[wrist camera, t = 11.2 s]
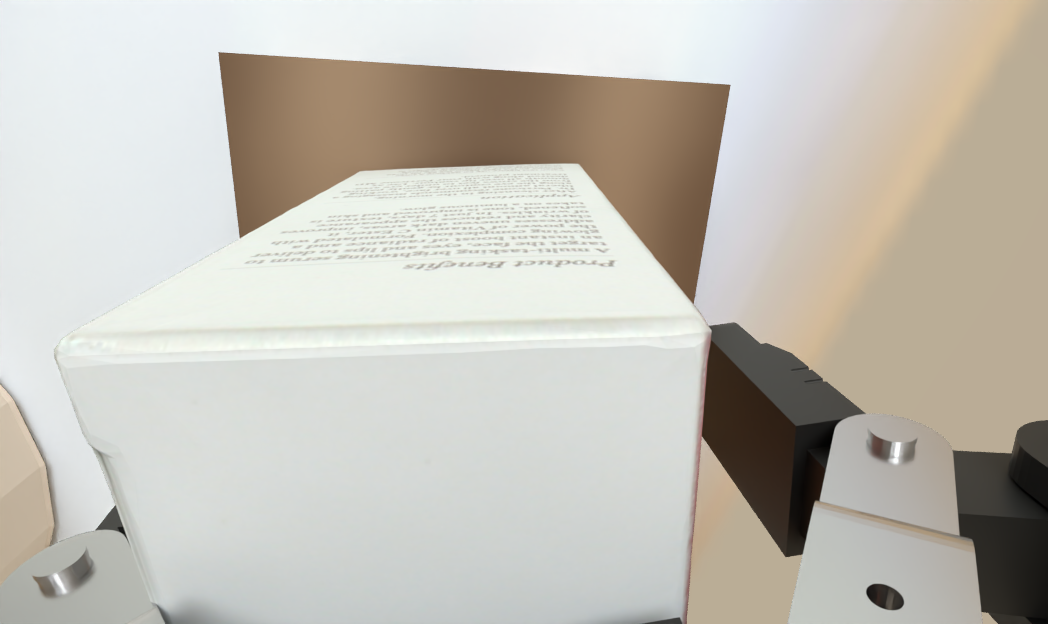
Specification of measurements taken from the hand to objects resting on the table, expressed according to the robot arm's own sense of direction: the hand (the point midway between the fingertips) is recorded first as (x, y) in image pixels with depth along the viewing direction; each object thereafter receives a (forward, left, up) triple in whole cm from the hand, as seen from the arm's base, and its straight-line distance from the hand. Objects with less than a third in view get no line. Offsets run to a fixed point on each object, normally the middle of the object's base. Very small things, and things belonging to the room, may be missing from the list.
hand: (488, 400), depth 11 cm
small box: (0, 0, -5) cm, 5 cm away
